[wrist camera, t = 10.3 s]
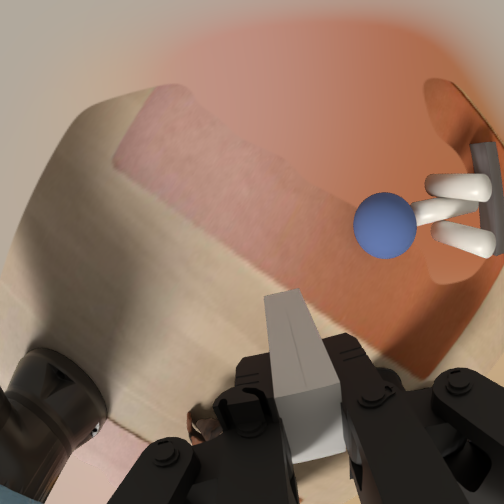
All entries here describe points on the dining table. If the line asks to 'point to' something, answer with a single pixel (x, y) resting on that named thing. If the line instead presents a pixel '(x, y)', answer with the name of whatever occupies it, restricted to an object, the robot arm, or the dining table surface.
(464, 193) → the pin
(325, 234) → the dining table surface
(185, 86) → the dining table surface
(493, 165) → the back wall
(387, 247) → the ball
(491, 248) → the pin
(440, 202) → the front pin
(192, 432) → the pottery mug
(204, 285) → the dining table surface
